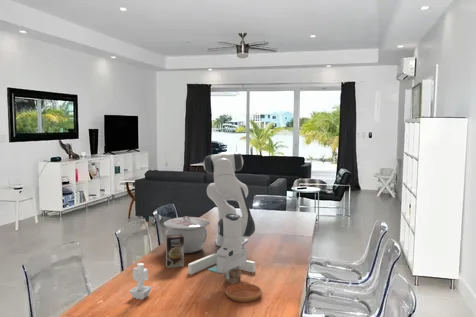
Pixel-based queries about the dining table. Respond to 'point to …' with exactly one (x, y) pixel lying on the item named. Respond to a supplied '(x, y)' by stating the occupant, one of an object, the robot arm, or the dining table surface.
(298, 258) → the dining table surface
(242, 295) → the saucer
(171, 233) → the chamber pot
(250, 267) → the white l-shaped bracket
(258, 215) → the dining table surface
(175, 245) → the coffee box
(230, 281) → the cube
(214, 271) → the pad
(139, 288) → the figurine
